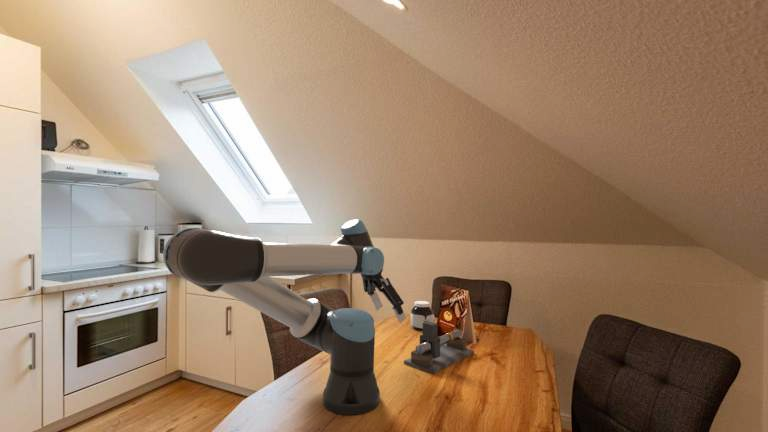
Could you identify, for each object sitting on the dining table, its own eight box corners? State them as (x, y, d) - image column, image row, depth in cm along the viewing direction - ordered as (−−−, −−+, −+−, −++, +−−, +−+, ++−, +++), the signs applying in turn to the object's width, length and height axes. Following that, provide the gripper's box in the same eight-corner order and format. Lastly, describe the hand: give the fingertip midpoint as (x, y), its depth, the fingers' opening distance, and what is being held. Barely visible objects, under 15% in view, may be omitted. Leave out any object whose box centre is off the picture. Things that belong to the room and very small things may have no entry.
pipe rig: (433, 374, 116) (433, 360, 116) (403, 363, 124) (404, 350, 124) (473, 353, 135) (473, 340, 135) (445, 345, 143) (446, 333, 143)
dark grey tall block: (434, 358, 121) (435, 326, 122) (419, 353, 126) (419, 322, 126) (440, 356, 124) (440, 324, 124) (424, 351, 128) (425, 320, 128)
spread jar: (411, 330, 161) (412, 304, 161) (407, 323, 172) (408, 298, 172) (438, 330, 162) (439, 304, 162) (433, 323, 173) (433, 298, 174)
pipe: (423, 356, 119) (423, 346, 119) (415, 353, 121) (415, 343, 121) (462, 338, 138) (462, 330, 138) (455, 336, 140) (455, 328, 140)
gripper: (400, 265, 112) (421, 318, 119) (357, 251, 132) (378, 297, 139) (381, 278, 108) (405, 333, 115) (341, 262, 128) (363, 309, 136)
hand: (390, 314), depth 127 cm, fingers open, 13 cm apart
